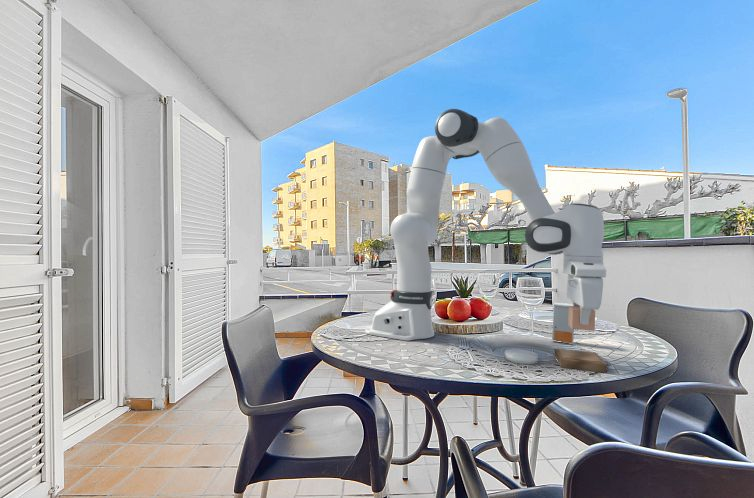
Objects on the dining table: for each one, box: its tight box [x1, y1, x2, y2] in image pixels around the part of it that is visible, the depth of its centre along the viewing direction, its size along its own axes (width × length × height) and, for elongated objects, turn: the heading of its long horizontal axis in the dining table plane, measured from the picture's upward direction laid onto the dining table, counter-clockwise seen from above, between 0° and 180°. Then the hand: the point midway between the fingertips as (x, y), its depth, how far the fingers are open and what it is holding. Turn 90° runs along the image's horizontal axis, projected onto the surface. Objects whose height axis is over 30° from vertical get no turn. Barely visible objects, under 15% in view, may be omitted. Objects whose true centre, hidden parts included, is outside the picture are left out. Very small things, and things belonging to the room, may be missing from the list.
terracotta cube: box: [568, 306, 596, 332], centre depth 95 cm, size 5×5×5 cm
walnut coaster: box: [553, 348, 608, 373], centre depth 95 cm, size 10×10×2 cm
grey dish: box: [504, 348, 538, 365], centre depth 97 cm, size 8×8×2 cm
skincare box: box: [551, 302, 575, 346], centre depth 116 cm, size 6×4×12 cm
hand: (580, 321), depth 95 cm, fingers closed on terracotta cube, 5 cm apart
